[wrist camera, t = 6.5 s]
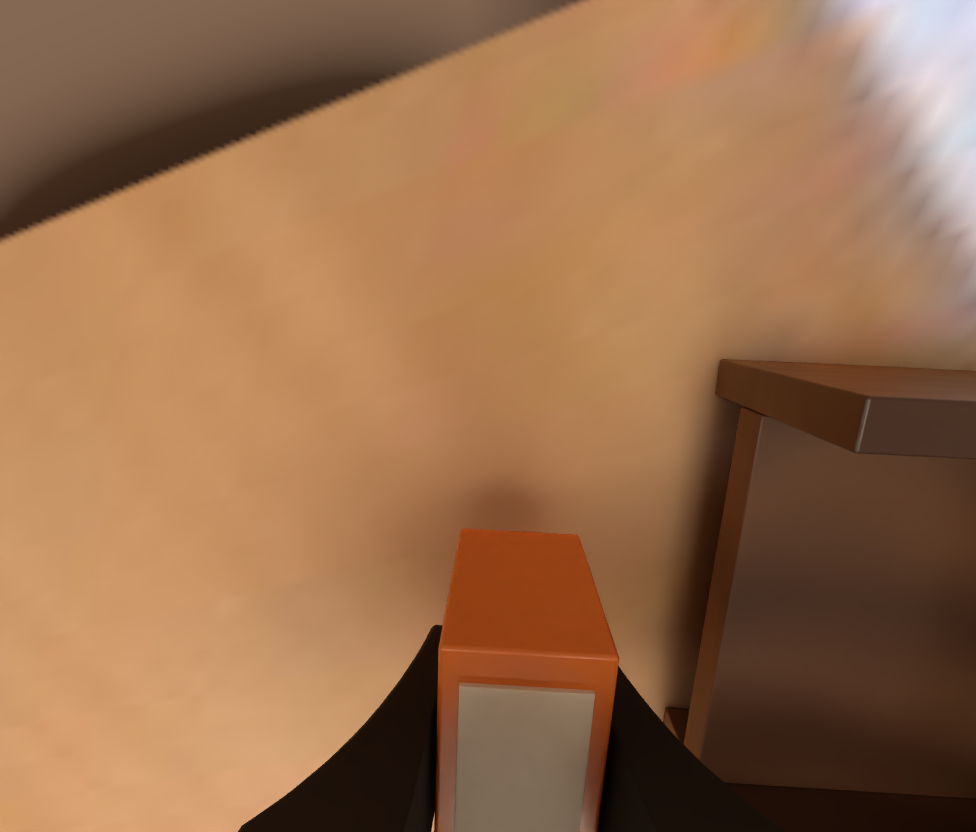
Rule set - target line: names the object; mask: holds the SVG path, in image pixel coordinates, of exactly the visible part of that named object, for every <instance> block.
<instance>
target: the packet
mask: <svg viewBox="0 0 976 832" xmlns="http://www.w3.org/2000/svg"><path fill="white" fill-rule="evenodd" d="M618 664H619V656H618V653H617V650H616V647H615V644H614V641H613V638H612V635H611V632H610V629H609V626H608V623H607V620H606V617H605V614H604V611H603V608H602V605H601V602H600V598H599V595H598V592H597V589H596V586H595V583H594V580H593V577H592V574H591V571H590V568H589V565H588V562H587V559H586V556H585V553H584V550H583V547H582V544H581V541H580V538H579V536H578V535H574V534H555V533H536V532H518V531H499V530H481V529H461V531H460V535H459V541H458V546H457V551H456V557H455V562H454V568H453V573H452V578H451V584H450V589H449V594H448V600H447V605H446V611H445V616H444V621H443V627H442V632H441V637H440V643H439V651H438V695H437V740H436V784H435V829H434V832H598V824H599V816H600V808H601V800H602V792H603V784H604V776H605V768H606V760H607V752H608V744H609V736H610V728H611V720H612V712H613V704H614V696H615V688H616V680H617V672H618Z"/></svg>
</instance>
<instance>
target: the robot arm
mask: <svg viewBox="0 0 976 832" xmlns="http://www.w3.org/2000/svg"><path fill="white" fill-rule="evenodd" d="M442 627H443V625H435V626H433V627H432V628H431V630H430V632H429V634H428V636H427V638H426V640H425V642H424V643H423V645H422V647H421V649H420V650H419V652H418V653H417V655H416V657H415V658H414V660H413V661H412V663H411V664H410V666H409V667H408V669H407V670H406V672H405V673H404V675H403V676H402V678H401V679H400V681H399V682H398V683H397V685H396V686H395V687H394V689H393V690H392V691H391V692H390V694H389V695H388V696H387V698H386V699H385V700H384V701H383V703H382V704H381V705H380V706H379V708H378V709H377V710H376V711H375V712H374V714H373V715H372V716H371V717H370V718H369V719H368V720H367V722H366V723H365V724H364V725H363V726H362V727H361V728H360V729H359V730H358V731H357V732H356V733H355V734H354V735H353V736H352V737H351V738H350V739H349V740H348V741H347V742H346V743H345V744H344V745H343V746H342V747H341V748H340V749H339V750H338V751H337V752H336V753H335V754H334V755H333V756H332V757H331V758H330V759H329V760H328V761H327V762H325V763H324V764H323V765H322V766H321V767H320V768H318V769H317V770H316V771H315V772H314V773H312V774H311V775H310V776H309V777H308V778H306V779H305V780H304V781H303V782H302V783H300V784H299V785H298V786H297V787H296V788H294V789H293V790H292V791H291V792H289V793H288V794H287V795H285V796H284V797H283V798H281V799H280V800H279V801H277V802H276V803H274V804H273V805H271V806H270V807H269V808H267V809H266V810H264V811H263V812H261V813H260V814H259V815H257V816H256V817H254V818H253V819H251V820H250V821H248V822H247V823H245V824H244V825H242V827H241V828H240V830H239V831H238V832H431V829H432V823H433V817H434V812H435V784H436V740H437V695H438V651H439V643H440V637H441V632H442ZM598 832H787V831H786V830H784V829H783V828H781V827H780V826H779V825H777V824H776V823H774V822H773V821H772V820H771V819H769V818H768V817H767V816H765V815H764V814H763V813H761V812H760V811H759V810H757V809H756V808H755V807H754V806H752V805H751V804H750V803H748V802H747V801H746V800H745V799H743V798H742V797H741V796H740V795H739V794H737V793H736V792H735V791H734V790H732V789H731V788H730V787H729V786H728V785H727V784H726V783H724V782H723V781H722V780H721V779H720V778H719V777H718V776H716V775H715V774H714V773H713V772H712V771H711V770H710V769H708V768H707V767H706V766H705V765H704V764H703V763H702V762H701V761H700V760H699V759H698V758H697V757H696V756H695V755H694V754H693V753H692V752H691V751H690V750H689V749H688V748H687V747H686V746H685V745H684V744H683V743H682V742H681V741H680V740H679V739H678V738H677V737H676V736H675V735H674V734H673V733H672V732H671V731H670V730H669V729H668V728H667V726H666V725H665V724H664V723H663V722H662V721H661V720H660V718H659V717H658V716H657V715H656V714H655V713H654V711H653V710H652V709H651V708H650V707H649V705H648V704H647V703H646V702H645V701H644V699H643V698H642V697H641V695H640V694H639V693H638V692H637V690H636V689H635V688H634V686H633V685H632V684H631V683H630V681H629V680H628V679H627V677H626V676H625V674H624V673H623V672H622V670H621V669H620V668H619V666H618V672H617V680H616V688H615V696H614V704H613V712H612V720H611V728H610V736H609V744H608V752H607V760H606V768H605V776H604V784H603V792H602V800H601V808H600V816H599V824H598Z"/></svg>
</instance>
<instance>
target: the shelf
mask: <svg viewBox="0 0 976 832" xmlns="http://www.w3.org/2000/svg"><path fill="white" fill-rule="evenodd" d="M715 393H716V395H718V396H720V397H723V398H725V399H728V400H730V401H732V402H735V403H737V404H739V405H742V406H743V407H741V410H740V416H739V422H738V427H737V433H736V439H735V445H734V451H733V457H732V463H731V469H730V475H729V480H728V486H727V492H726V498H725V504H724V510H723V516H722V522H721V527H720V533H719V539H718V545H717V551H716V557H715V563H714V569H713V575H712V580H711V586H710V592H709V598H708V604H707V610H706V616H705V622H704V627H703V633H702V639H701V645H700V651H699V657H698V663H697V669H696V675H695V680H694V686H693V692H692V698H691V704H690V710H683V709H666V711H665V717H664V724H665V725H666V726H667V728H668V729H669V730H670V731H671V732H672V733H673V734H674V735H675V736H676V737H677V738H678V739H679V740H680V741H681V742H682V743H683V744H684V745H685V746H686V747H687V748H688V749H689V750H690V751H691V752H692V753H693V754H694V755H695V756H696V757H697V758H698V759H699V760H700V761H701V762H702V763H703V764H704V765H705V766H706V767H707V768H708V769H710V770H711V771H712V772H713V773H714V774H715V775H716V776H718V777H719V778H720V779H721V780H722V781H723V782H724V783H726V784H727V785H728V786H729V787H730V788H731V789H732V790H734V791H735V792H736V793H737V794H739V795H740V796H741V797H742V798H743V799H745V800H746V801H747V802H748V803H750V804H751V805H752V806H754V807H755V808H756V809H757V810H759V811H760V812H761V813H763V814H764V815H765V816H767V817H768V818H769V819H771V820H772V821H773V822H774V823H776V824H777V825H779V826H780V827H781V828H783V829H784V830H786V831H787V832H976V371H965V370H944V369H922V368H900V367H879V366H857V365H836V364H814V363H793V362H771V361H749V360H728V359H723V360H721V361H720V366H719V373H718V379H717V386H716V392H715Z"/></svg>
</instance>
